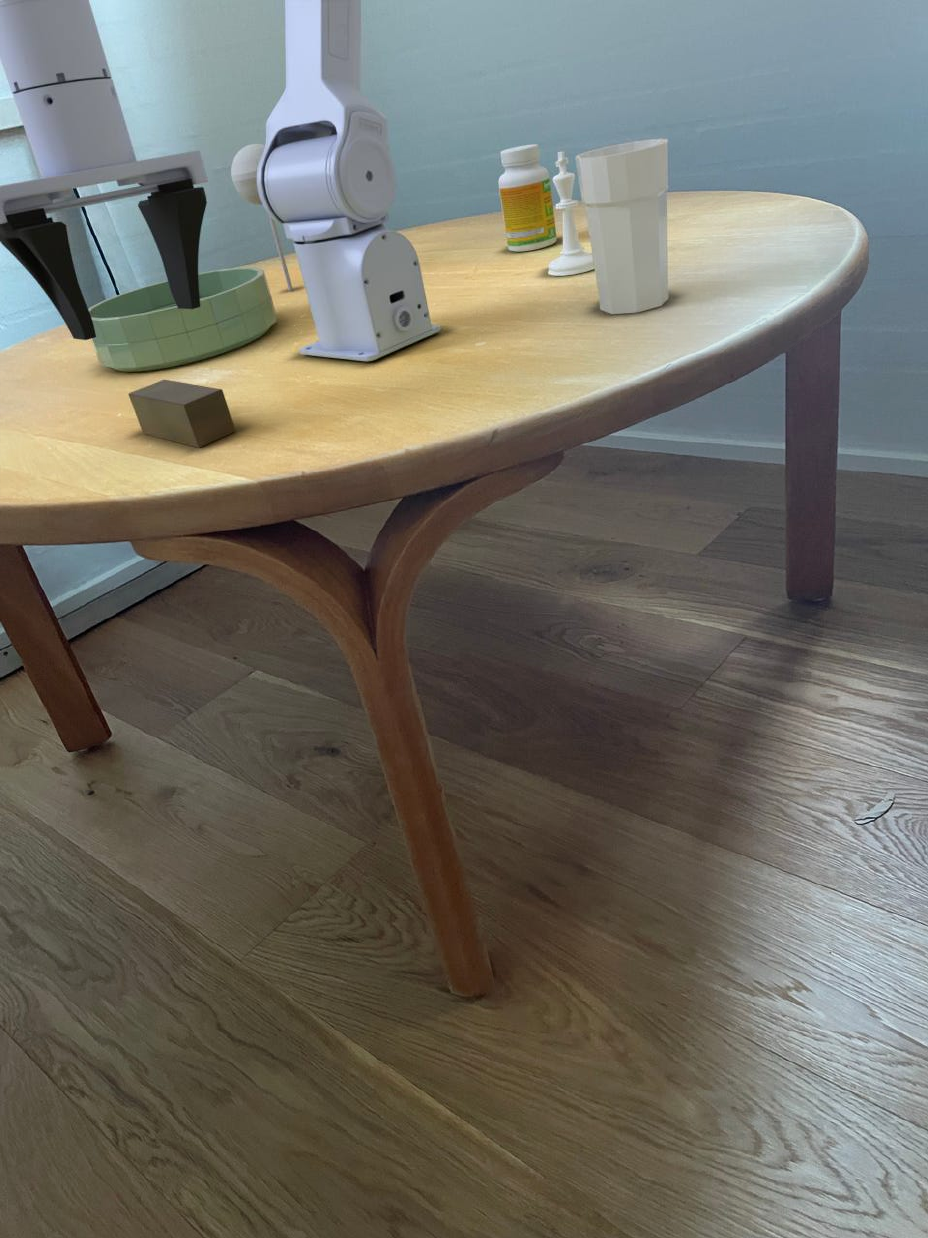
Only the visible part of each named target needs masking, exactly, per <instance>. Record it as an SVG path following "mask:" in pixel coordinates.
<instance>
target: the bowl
mask: <svg viewBox="0 0 928 1238" xmlns="http://www.w3.org/2000/svg"><path fill="white" fill-rule="evenodd" d="M198 279H199V295H200V306H201V307H198V308H195V309H179V308H178V307H177V305H176V303H175V300H174V298H173V295H172V293H171V289H170V286H169V283H168V279H167V280H164V281H160V282H156V283H153V284H148V285H145V286H142V287H138V288H136V289H135V288H134V289H131V290H129V291H126V292H123V293H120V294H118V295H115V296H113V297H109V298H107V299H104V300H101V301H100V302H98V303H96V304H93V305H92V306H90V307H88V310H89V313H90V315H91V318H92V321H93V325H94V329H95V333H96V337H95V338H92V339H90V342H91V344H92V347H93V350H94V352H95V355H96V357H97V360H98V362H99V364H101V366H102V367H104V368H105V367H106V368H109V369H110V368H111V369H113V370H115V371H118V372H125V373H126V372H127V373H136V372H148V371H156V370H163V369H168V368H174V367H178V366H183V365H187V364H192V363H196V362H199V361H202V360H207V359H209V358H213V357H216V356H219V355H222V354H225V353H228V352H230V351H233V350H236V349H238V348H241V347H243V346H245V345H248V344H249V343H252V342H253V341H255V340H257V339H258V338H259V339H260V337H262V336H264V335H265V334H266V333H267V332H268V331H269V330H270V328H271V326H273V325H274V324H276V322H277V312H276V308H275V305H274V301H273V298H272V295H271V290H270V287H269V284H268V280H267V276H266V274H265V269H262V268H260V267H257V266H256V267H255V266H253V267H252V266H245V267H244V266H239V267H231V268H223V269H221V268H220V269H216V270H209V271H205V272H198Z"/></svg>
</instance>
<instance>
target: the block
mask: <svg viewBox="0 0 928 1238" xmlns="http://www.w3.org/2000/svg"><path fill="white" fill-rule="evenodd" d="M128 397H129V400H130V402H131V405H132V408H133V410H134V413H135V416H136V418H137V421H138V423H139V426H140V428H141V431H142V434H144V435H148V436H152V437H157V438H161V439H163V440H167V441H171V442H175V443H179V444H183V445H188V446H191V447H195V448H203V447H204V446H207V445H209V444H211V443H213V442H215V441H218V440H220V439H222V438H225V437H226V436H230V435H232V434H233V433H235V432H237V430H236V427H235V424H234V420H233V418H232V415H231V412H230V410H229V409H230V408H229V406H228V405H229V404H228V403H227V399H226V397H225V393H224V391H223V389H222V388H217V387H216V388H215V387H211V386H205V385H199V384H193V383H187V382H182V381H181V382H180V381H176V380H175V381H174V380H170V379H162V380H159V381H157V382H154V383H152V384H149V385H147V386H144V387H141V388H139V389H136V390H133V391H131V392H129V393H128Z"/></svg>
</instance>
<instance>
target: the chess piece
mask: <svg viewBox="0 0 928 1238" xmlns="http://www.w3.org/2000/svg"><path fill="white" fill-rule="evenodd" d="M556 154H557V160H556V161H555V162H554V164H555V168H558V169H559V172H558V174H556V175H553V177H552V183H553V185H554V187H555V189H556V191H557V194H558V196H559V199H560V200H559V202H557V203H556V204H555V207H554V208H555V209H556V210H561V211H562V212H561V213H562V250H561V251H559V254H560V256H559V257H557V258H555V259H553V260H552V261H551V262H549V263H548V265H547V268H548V271H547V274H548V275H550V276H552V277H553V276H554V277H565V276H572V275H579V274H583V273H587V272H589V271H593V270H595V268H594V262H593V256H592V252H585V251H584V250H585V247H583V246H582V244H581V242H580V237H579V233H578V229H577V225H576V220H575V215H574V209H573V208H574V207H577V206H578V205H579V201H578V200H577V199H573V197H572V196H573V192H574V184H575V180H576V175H575V173H573V172H569V171H567V164H570V161H569V157H565V156H566V155H565V151H564V150H563V151H558V152H557V153H556Z"/></svg>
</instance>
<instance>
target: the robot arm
mask: <svg viewBox="0 0 928 1238" xmlns="http://www.w3.org/2000/svg"><path fill="white" fill-rule="evenodd" d="M361 3H362V0H284V20H285V21H284V32H285V33H284V40H285V46H284V47H285V89H284V92H283V93H282V95H281V97H280V98H279V100H278V101H277V103H276V105H275V106H274V108H273V109H272V111H271V113H270V114H269V116H268V118H267V120H266V122H265V142H264V143H265V144H264V145H265V148H264V152H263V154H262V157H261V159H260V162H259V165H258V170H257V187H258V192H259V196H260V199H261V202H262V204H263V205H262V207H263V208H264V210H265V213H267V215H268V217H269V216H270V217H271V218H272V219H273V220H274V221H275V224H277V225H278V226H280V227H282V228H283V230H284V234H285V237H286V239H287V240H292V241H293V244H292V245H293V247H294V252H295V255H296V259H297V262H298V267H299V270H300V273H301V278H302V281H303V285H304V289H305V292H306V296H307V300H308V304H309V308H310V311H311V316H312V320H313V324H314V327H315V330H316V334H317V339H318V340H317V341H315V342H313V343H309V344H307V345H305V346H303V347H301V348H299V352H300V355H304V356H314V357H322V358H333V359H341V360H351V361H360V362H372V361H376V360H378V359H379V358H382V357H384V356H387V355H389V354H391V353H394V352H395V351H398V350H400V349H402V348H404V347H407V346H409V345H411V344H414V343H417V342H418V341H420V340H423V339H425V338H428V337H430V336H433V335H435V334H436V333H439V332H440V331H441V326H440V325H439V324H432V320H431V314H430V311H429V303H428V300H427V295H426V289H425V285H424V281H423V280H424V279H423V275H422V270H421V263H420V260H419V256H418V254H417V251H416V249H415V247H414V245H413V244H412V242H411V241H410V240H409V239H408V238H407V237H406V236H405V235H403V234H402V233H401V232H398V231H395V230H390V229H388V228H387V227H386V226H385V224H384V223H387V222H389V221H390V217H389V214H388V212H389V210H390V209H391V207H392V204H393V202H394V198H395V192H396V174H395V173H396V172H395V166H394V161H393V158H392V155H391V151H390V148H389V140H388V138H389V137H388V119H387V118H386V117H385V116H384V115H383V113H382V112H381V111H380V110H379V109H378V108H376V106H375V105H373V104H372V103H371V102H370V101H369V100H368V99H367V98H366V97H364V96H363V95H362V94H361V43H362V42H361V38H362V37H361V35H362V34H361V32H362V31H361V30H362V29H361V28H362V26H361V25H362V24H361V23H362V10H361V9H362V4H361ZM105 53H106V52H105V50H104V47H103V43H102V40H101V37H100V33H99V30H98V27H97V23H96V19H95V17H94V13H93V10H92V5H91V2H90V0H0V62H1V65H2V68H3V71H4V74H5V77H6V79H7V83H8V85H9V89H10V91H11V94H13V95H12V96H13V99H14V102H15V105H16V108H17V112H18V114H19V117H20V119H21V122H22V125H23V128H24V131H25V135H26V137H27V140H28V142H29V145H30V149H31V151H32V154H33V157H34V160H35V162H36V163H35V164H36V166H37V169H38V171H39V174H40V177H41V178H34V179H30V180H29V179H28V180H23V181H18V182H13V183H8V184H7V183H6V184H2V185H0V244H1V245H2V246H3V247H4V248H5V249H6V250H7V251H8V252H10V254H11V255H12V256H14V258H15V259H16V260H17V261H18V262H19V263H20V264H21V265H22V266H23V267H24V268H25V269H26V271H27V272H28V273H29V274H30V275H31V277H32V278H33V279H34V280H35V282H36V283H37V284H38V285H39V287H40V288H41V289H42V290H43V292H44V293H45V295H46V296H47V297H48V299H49V300H50V301H51V303H52V305H53V306H54V308H55V309H56V311H57V312H58V314H59V315H60V317H61V319H62V320H63V322H64V323H65V325H66V327H67V329H68V330H69V332H70V334H71V336H72V338H73V339H74V340H82V341H89V340H91V339H92V338H95V337H96V333H95V329H94V325H93V321H92V318H91V315H90V313H89V310H88V308H89V307H88V305H87V302H86V299H85V297H84V295H83V292H82V289H81V287H80V283H79V280H78V276H77V273H76V269H75V264H74V260H73V255H72V251H71V245H70V241H69V235H68V229H67V224H65V223H64V222H62V221H54V220H53V217H51V216H50V217H47V215H48V214H53V213H57V212H64V211H67V210H68V211H69V210H73V209H77V208H83V207H87V206H88V207H89V206H92V205H98V204H102V203H107V202H112V201H117V200H122V199H127V198H132V197H137V196H142V195H146V194H150V195H148V196H147V199H144V200H140V201H138V204H137V207H138V209H139V211H140V213H141V215H142V217H143V218H144V220H145V223H146V225H147V227H148V229H149V232H150V234H151V236H152V238H153V241H154V243H155V245H156V248H157V250H158V253H159V256H160V259H161V262H162V265H163V268H164V272H165V275H166V279H167V280H168V283H169V286H170V289H171V293H172V295H173V298H174V300H175V303H176V305H177V307H178V308H179V309H195V308H198V307H201V306H200V295H199V279H198V273H199V254H200V253H199V252H200V239H201V233H202V226H203V222H204V215H205V212H206V208H207V204H208V201H207V195H206V191H205V188H204V187H203V186H199V187H198V186H197V187H194V185H200V184H206V183H208V182H209V179H208V176H207V172H206V168H205V165H204V161H203V156H202V153H201V150H200V149H196V150H192V151H187V152H180V153H175V154H170V155H163V156H157V157H153V158H146V159H140V160H137V158H136V154H135V151H134V147H133V143H132V141H131V137H130V134H129V130H128V127H127V123H126V119H125V117H124V113H123V110H122V106H121V103H120V99H119V96H118V93H117V90H116V86H115V83H114V79H112V78H113V77H112V73H111V71H110V67H109V63H108V60H107V57H106V54H105ZM111 182H116V184H117V186H118V187H123V186H131V185H137V184H138V186H132V187H127V188H123V189H117V190H113V191H112V190H111V191H107V192H102V193H97V194H92V195H87V196H83V197H77V198H72V199H67V200H62V201H55V202H54V200H60V199H64V198H70V197H73V196H74V192H73V189H78V188H83V187H89V186H94V185H95V186H96V185H99V184H100V185H101V184H105V183H111Z"/></svg>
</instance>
